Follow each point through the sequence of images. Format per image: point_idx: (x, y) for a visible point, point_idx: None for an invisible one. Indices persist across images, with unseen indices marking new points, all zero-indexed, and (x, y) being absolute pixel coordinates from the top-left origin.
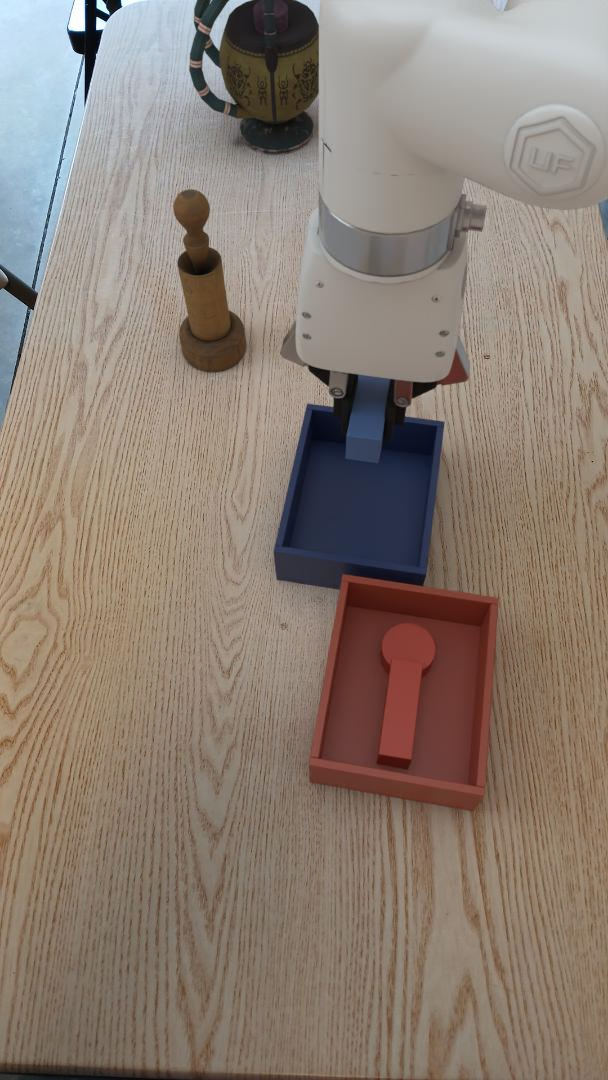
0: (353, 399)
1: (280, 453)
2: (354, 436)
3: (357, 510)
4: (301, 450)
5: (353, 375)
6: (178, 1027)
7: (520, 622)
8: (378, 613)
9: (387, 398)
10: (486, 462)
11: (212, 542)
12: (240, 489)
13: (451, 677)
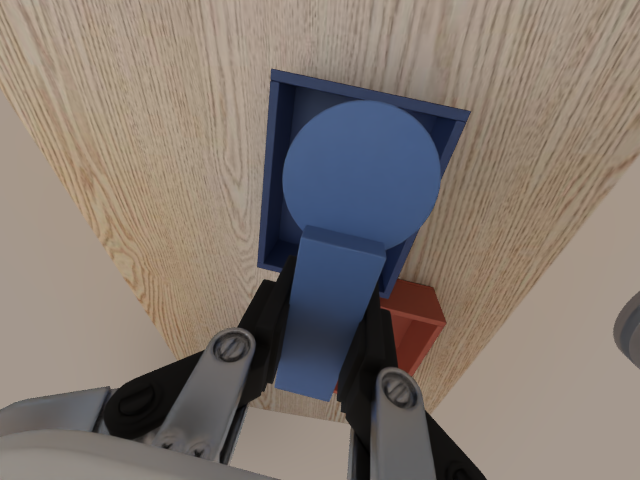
0: (276, 366)
1: (262, 102)
2: (286, 390)
3: None
4: (270, 155)
5: (261, 376)
6: (256, 401)
7: (460, 288)
8: None
9: (342, 392)
10: (504, 123)
11: (218, 205)
12: (230, 150)
13: (394, 319)
